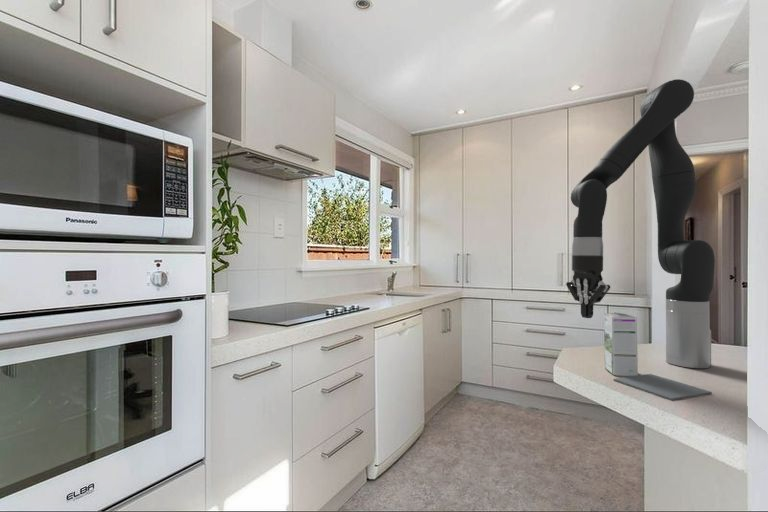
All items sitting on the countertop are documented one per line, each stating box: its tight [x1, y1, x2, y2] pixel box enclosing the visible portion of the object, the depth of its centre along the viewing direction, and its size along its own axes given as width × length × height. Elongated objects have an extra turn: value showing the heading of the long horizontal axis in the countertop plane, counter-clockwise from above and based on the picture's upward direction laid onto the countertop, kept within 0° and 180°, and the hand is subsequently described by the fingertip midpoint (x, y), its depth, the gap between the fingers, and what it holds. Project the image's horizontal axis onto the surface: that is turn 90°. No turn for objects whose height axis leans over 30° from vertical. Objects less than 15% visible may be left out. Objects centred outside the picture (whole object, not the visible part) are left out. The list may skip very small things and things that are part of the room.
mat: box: [613, 373, 712, 401], centre depth 84 cm, size 12×13×1 cm
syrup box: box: [603, 312, 639, 377], centre depth 95 cm, size 6×6×14 cm
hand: (586, 317), depth 104 cm, fingers closed
